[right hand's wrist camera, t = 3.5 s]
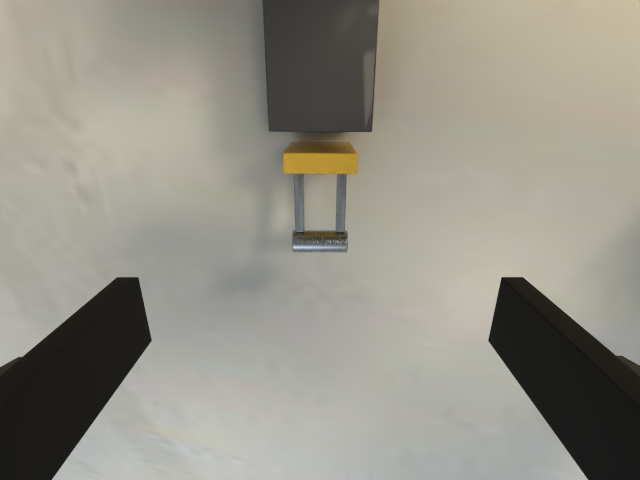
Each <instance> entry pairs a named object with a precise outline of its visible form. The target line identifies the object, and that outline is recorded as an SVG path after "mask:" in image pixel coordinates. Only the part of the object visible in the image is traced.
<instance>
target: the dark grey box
mask: <svg viewBox="0 0 640 480" xmlns="http://www.w3.org/2000/svg"><path fill="white" fill-rule="evenodd" d="M378 11H379V0H263V17H264V38H265V59H266V80H267V101H268V122H269V131H270V132H372V120H373V102H374V84H375V66H376V47H377V29H378Z"/></svg>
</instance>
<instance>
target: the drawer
mask: <svg viewBox="0 0 640 480" xmlns="http://www.w3.org/2000/svg"><path fill="white" fill-rule="evenodd" d="M357 166H358V153H357V152H356V151H355V149H354V148H353V147H352V146H351V144H350V143H349V142H292V143H291V144H290V145H289V146H288V148H287V149H286V150H285V151H284V153H283V172H284V173H285V174H294V194H295V230H294V231H293V234H292V249H293V252H347V249H348V234H347V231H345V206H346V174H357ZM304 174H337V192H336V231H306V230H304Z"/></svg>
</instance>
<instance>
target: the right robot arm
mask: <svg viewBox="0 0 640 480" xmlns="http://www.w3.org/2000/svg"><path fill="white" fill-rule="evenodd" d="M151 341H152V340H151V335H150V331H149V326H148V321H147V316H146V312H145V307H144V302H143V297H142V293H141V288H140V283H139V278H138V277H117V278H116V279H115V280H113V281H112V282H111V283H110V284H109V285H107V286H106V287H105V288H104V289H103V290H102V291H100V292H99V293H98V294H97V295H96V296H94V297H93V298H92V299H91V300H90V301H88V302H87V303H86V304H85V305H84V306H83V307H81V308H80V309H79V310H78V311H77V312H75V313H74V314H73V315H72V316H71V317H69V318H68V319H67V320H66V321H65V322H64V323H62V324H61V325H60V326H59V327H58V328H56V329H55V330H54V331H53V332H52V333H50V334H49V335H48V336H47V337H46V338H45V339H43V340H42V341H41V342H40V343H39V344H37V345H36V346H35V347H34V348H33V349H31V350H30V351H29V352H28V353H27V354H26V355H24V356H23V357H18V358H16V359H14V360H12V361H11V362H9V363H7V364H5V365H3V366H2V367H0V480H52V478H53V477H54V476H55V474H56V473H57V472H58V470H59V469H60V467H61V466H62V465H63V463H64V462H65V460H66V459H67V458H68V456H69V455H70V453H71V452H72V451H73V449H74V448H75V447H76V445H77V444H78V442H79V441H80V440H81V438H82V437H83V435H84V434H85V433H86V431H87V430H88V428H89V427H90V426H91V424H92V423H93V421H94V420H95V419H96V417H97V416H98V415H99V413H100V412H101V410H102V409H103V408H104V406H105V405H106V403H107V402H108V401H109V399H110V398H111V396H112V395H113V394H114V392H115V391H116V389H117V388H118V387H119V385H120V384H121V383H122V381H123V380H124V378H125V377H126V376H127V374H128V373H129V371H130V370H131V369H132V367H133V366H134V364H135V363H136V362H137V360H138V359H139V358H140V356H141V355H142V353H143V352H144V351H145V349H146V348H147V346H148V345H149V344H150V342H151ZM488 341H489V342H490V344H491V345H492V346H493V348H494V349H495V351H496V352H497V353H498V355H499V356H500V358H501V359H502V360H503V362H504V363H505V364H506V366H507V367H508V369H509V370H510V371H511V373H512V374H513V376H514V377H515V378H516V380H517V381H518V383H519V384H520V385H521V387H522V388H523V390H524V391H525V392H526V394H527V395H528V396H529V398H530V399H531V401H532V402H533V403H534V405H535V406H536V408H537V409H538V410H539V412H540V413H541V415H542V416H543V417H544V419H545V420H546V421H547V423H548V424H549V426H550V427H551V428H552V430H553V431H554V433H555V434H556V435H557V437H558V438H559V440H560V441H561V442H562V444H563V445H564V447H565V448H566V449H567V451H568V452H569V453H570V455H571V456H572V458H573V459H574V460H575V462H576V463H577V465H578V466H579V467H580V469H581V470H582V472H583V473H584V474H585V476H586V477H587V478H588V480H640V366H639V365H637V364H636V363H634V362H632V361H630V360H628V359H627V358H625V357H623V356H616V355H614V354H613V353H612V352H611V351H610V350H609V349H607V348H606V347H605V346H604V345H603V344H601V343H600V342H599V341H598V340H597V339H595V338H594V337H593V336H592V335H591V334H590V333H588V332H587V331H586V330H585V329H584V328H582V327H581V326H580V325H579V324H578V323H576V322H575V321H574V320H573V319H572V318H571V317H569V316H568V315H567V314H566V313H565V312H563V311H562V310H561V309H560V308H559V307H557V306H556V305H555V304H554V303H553V302H552V301H550V300H549V299H548V298H547V297H546V296H544V295H543V294H542V293H541V292H540V291H538V290H537V289H536V288H535V287H534V286H533V285H531V284H530V283H529V282H528V281H527V280H525V279H524V278H523V277H502V278H501V283H500V288H499V293H498V297H497V302H496V307H495V312H494V316H493V321H492V326H491V331H490V335H489V340H488Z"/></svg>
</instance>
